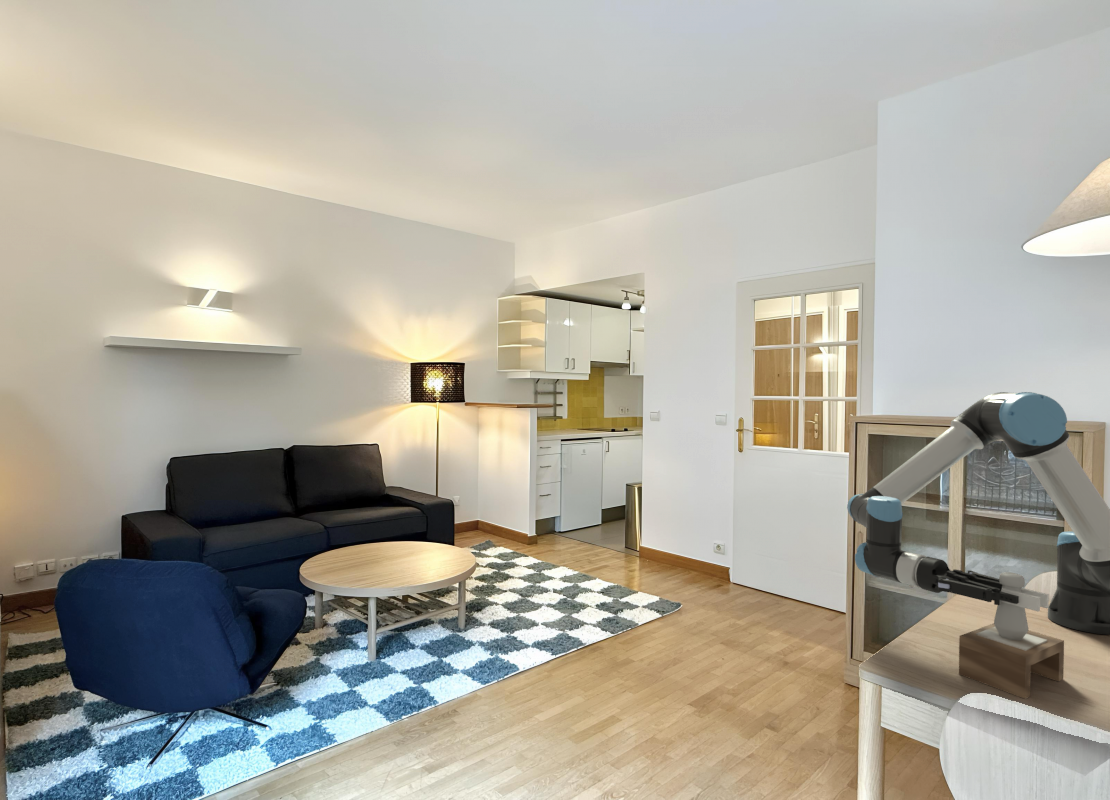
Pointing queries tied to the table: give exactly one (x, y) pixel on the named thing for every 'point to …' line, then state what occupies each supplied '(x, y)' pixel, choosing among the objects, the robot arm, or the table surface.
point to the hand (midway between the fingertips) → (1043, 602)
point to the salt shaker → (1011, 610)
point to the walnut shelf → (1009, 659)
